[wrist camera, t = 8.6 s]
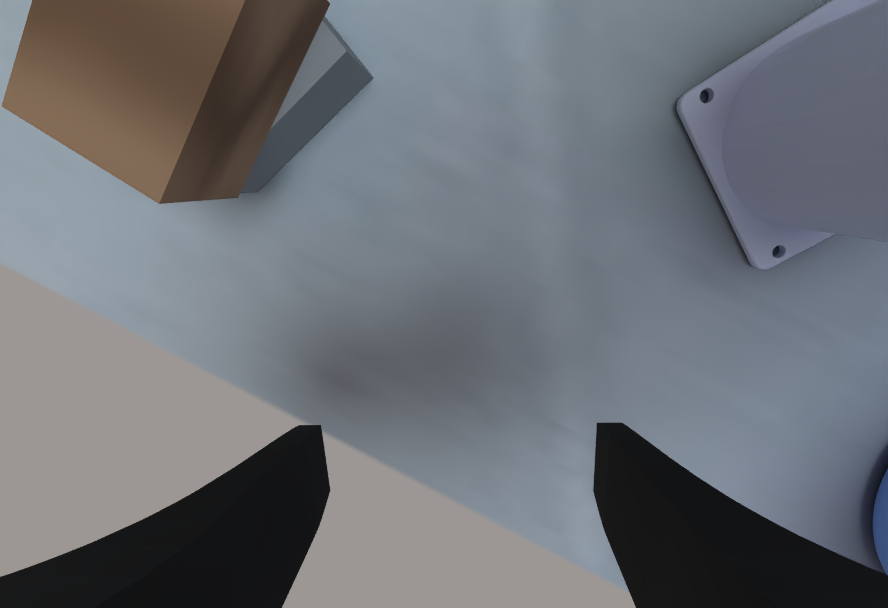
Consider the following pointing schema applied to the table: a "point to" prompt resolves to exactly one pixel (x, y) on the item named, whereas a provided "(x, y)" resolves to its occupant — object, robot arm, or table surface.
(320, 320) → the table surface
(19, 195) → the table surface
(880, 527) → the water jug
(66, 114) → the walnut block
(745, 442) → the table surface
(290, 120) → the grey block
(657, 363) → the table surface
